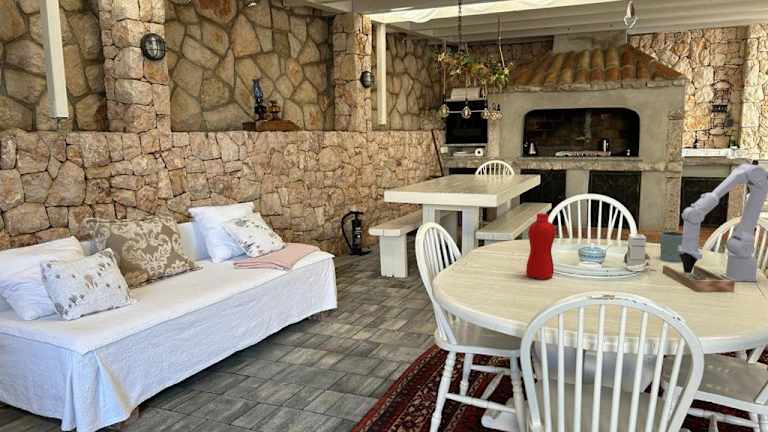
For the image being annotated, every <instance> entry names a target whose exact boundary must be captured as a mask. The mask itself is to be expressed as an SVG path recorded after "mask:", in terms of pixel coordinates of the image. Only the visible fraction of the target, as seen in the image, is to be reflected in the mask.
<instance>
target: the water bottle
mask: <svg viewBox="0 0 768 432" xmlns="http://www.w3.org/2000/svg"><path fill="white" fill-rule="evenodd" d="M549 217H550V216H549V214H548V213H544V212H543V213H541V212H539V213H536V221H534V222H532V223H531V224H530V225H529V228H528V232H527V236H528V241H529V246H530V248H529V249H530V250H529V251H530V252H529V255H528V258H527V261H526V262H527V263H526V268H525V269H526V270H525V274H526V275H527V276H528V278H531V279H535V280H536V279H537V280H541V281H543V280H548V279H550V278H553V276H554V273H555V272H554V268H555V267H554V261H553V254H552V247H553V244H554V242H555V241H554V240H555V237H556V228H555V226H554V224H553V223H552V222H550V221H549Z"/></svg>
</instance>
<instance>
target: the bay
mask: <svg viewBox="0 0 768 432" xmlns="http://www.w3.org/2000/svg"><path fill="white" fill-rule="evenodd" d="M692 273H693V274H695V275H697V274H698V276H701V275H702V276H704V278H705V277H706V278H711V279H713V278H715V279H717V280H695V281H694V280H693V279H691V278H689V277H687V276H686V274H683V273H681V272H679V271H677V270H675V269H674V268H671V267H670V266H668V265H662V274H664V275H666V276H667V277H668V278H669V277H670V278H671V279H672V280H674V281H677V282H678V283H680V284H682V285H684V286H685V287H688V289H690V290H692V291H694V292H697V293H700V292H701V293H702V292H703V293H705V292H706V293H713V292H714V293H718V292H719V293H721V292H722V293H734V292H735V285H736V281H734V280H729V279H727V278H725V277H724V278H723V276H721V275H720V276H719V275H717V274H715V273H713V272H711V271H709V270H707V269H704V268H703V267H700V266H698V265H694V267H693V269H692Z"/></svg>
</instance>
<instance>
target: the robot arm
mask: <svg viewBox="0 0 768 432" xmlns="http://www.w3.org/2000/svg"><path fill="white" fill-rule="evenodd" d="M745 184H746V186H747V187H748V189H749V190H750V192H749V194H748V198H747V200H746V203H745V206H744V207H743V208H744V209H743V212H742V214H741V218H740V220H739V222H738V223H739V224H738V226H737V229H736V230H735V231H733V232H732V233H731V236H730V237H729V238H728V239H727V240H726V242H725V248H726V249H727V251H728V253H727V261H726V271H725V273H721V274H720V277H722V278H723V277H724V279H726V280H734V281H735V282H757V281H758V280H757V272H758V260H757V259H756V257H754V256H753V254H755V250H756V249H755V243H756V238H755V236H754V232H755V231H756V230H755V229H756V226H757V224H758V221H759V218H760V215H761V213H762V210H763V207H764V204H765V202H766V198H767V195H768V171H767V170H766V169H765V167H764V166H762V165H760V164H759V165H758V164H756V165H755V164H751V163H746V162H745V163H741V164H740V165H738V166H737V168H734V169H733V170H732V171H731V173H730V174H729V175H728V176H727V177H726V178H725V179H724V180H723V181H722V182H721V183H720V184H718V186H716V187H715V189H714V190H712V191H711V192H706V193H702V194H700V198H699V199H698V200H696V201H695V202H694V203H691V204H690V206H689V207H688V206H687V207H686V208H685V209H684V210H683V213H681V219H682V220H683V226H682V227H683V229H682V233H683V237H682V246H678V249H677V250H678V251H680V252H683V254H679V256H680V258H681V260H682V268H683V273H686V274H692V273H693V268H694V266H696V263H697V261H698V260H702V259H703V254H702V253H701V251H700V250H699V243H700V236H701V235H700V234H701V222H704V219H705V216H706V215H707V214H708V213H710V212H711V211H712V210H713V209H714V208H715V207H717V206H718V205H719V203H720V199H721V198H722V197H723V196H724V195H726V194H728V192H730V191H731V190H732V189H733V188H735V187H736V186H737V185H738V186H739V185H745Z"/></svg>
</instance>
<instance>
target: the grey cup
mask: <svg viewBox="0 0 768 432" xmlns="http://www.w3.org/2000/svg"><path fill="white" fill-rule="evenodd" d="M659 235H660V237H659V238H660V254H659V255H660V261H663V262H668V263H681V262H682V260H681V258H680V256H679V254H683V253H684V252H680V251H678V250H677V249H678V246H682V237H683V231H682V232H681V231H675V230H674V231H673V230H666V231H665V230H664V231H661V232H660V234H659Z"/></svg>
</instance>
